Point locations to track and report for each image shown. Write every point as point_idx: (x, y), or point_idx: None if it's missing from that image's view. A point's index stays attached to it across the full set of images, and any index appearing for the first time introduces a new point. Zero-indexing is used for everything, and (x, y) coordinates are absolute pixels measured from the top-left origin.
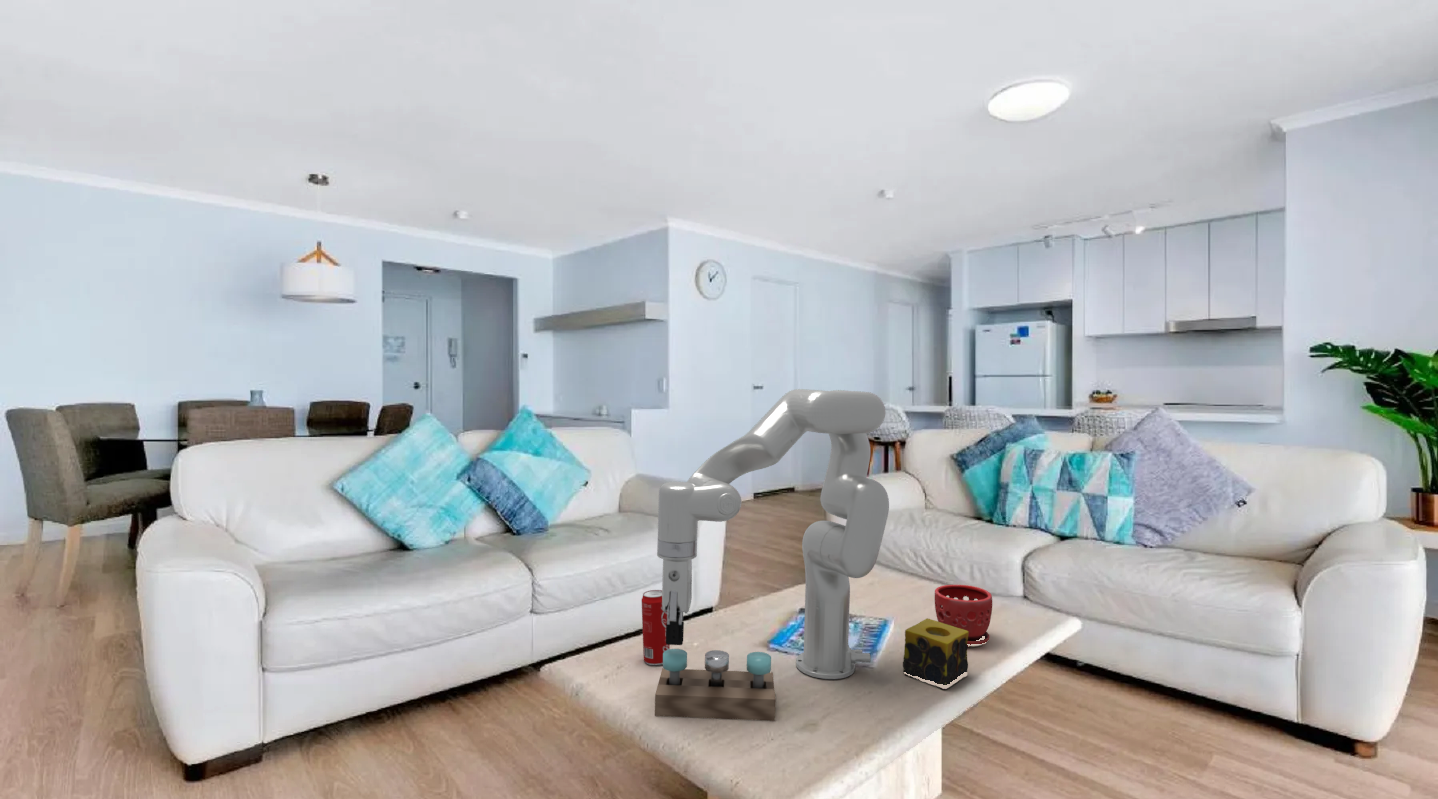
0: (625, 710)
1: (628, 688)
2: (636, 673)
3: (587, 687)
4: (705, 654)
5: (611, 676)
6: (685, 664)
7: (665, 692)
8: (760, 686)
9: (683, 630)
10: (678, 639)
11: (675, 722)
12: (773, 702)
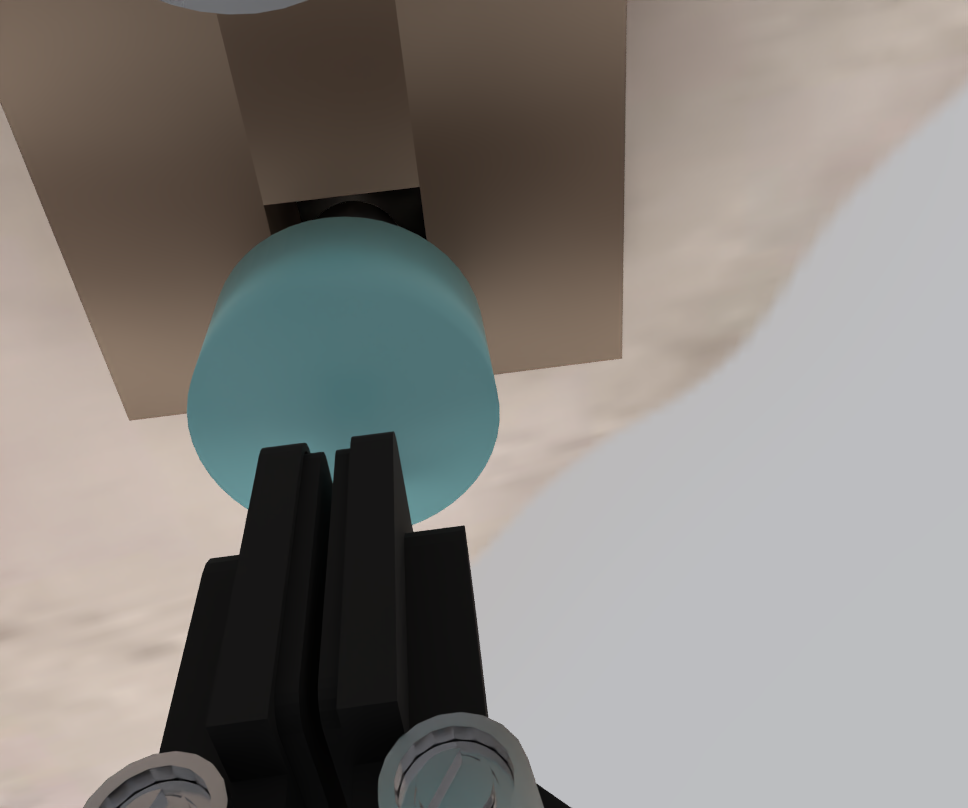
0: (534, 453)
1: None
2: (24, 530)
3: None
4: (237, 6)
5: (138, 630)
6: (385, 243)
7: (579, 293)
8: None
9: (264, 575)
10: (403, 528)
11: (661, 116)
12: None
